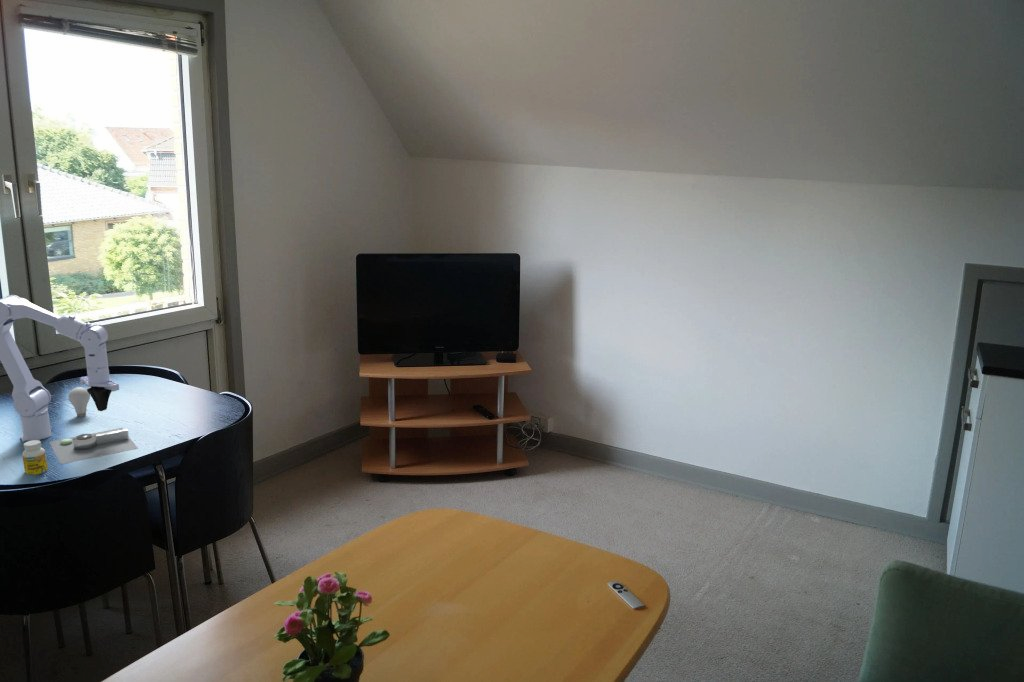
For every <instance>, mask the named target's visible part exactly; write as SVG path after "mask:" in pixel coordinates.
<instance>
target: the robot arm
mask: <svg viewBox="0 0 1024 682" xmlns="http://www.w3.org/2000/svg"><path fill="white" fill-rule="evenodd" d="M25 318H28V319H31V320H33V321H36V322H39V323H42V324H44V325H48V326H51V327H54V329H55V331H56V332H57V334H59V335H62V336H65V337H68V338H69V339H72V340H75V341H77V342H79V343H80V345H81V346H82V347H83V349H84V356H85V365H86V374H87V375H86V376H81V377H79V381H80V384H81V385H85V387H88V388H86V389H87V392H88V393H89V394H90V398H92V400H93V402H94V405H95V407H96V409H97V411H98V412H103V411H106V410H107V409H108V403H109V399H110V396H111V393H112V392H117V391H120V385H119V384H120V383H118V382H115V381H114V380H112V379H111V378H110V369H109V362H108V352H107V343H106V342H107V340H108V339H109V333H108V330H107V329H106V328H105V326H102V324H93V325H92V323H91V322H85V321H82V320H80V319H78V318H76V315H73V314H70V315H68V314H66V315H63V316H59V315H58V314H55V313H54V312H51V311H49V310H47V309H45V308H42V307H40V306H38V305H36V304H34V303H32V302H31V301H29V300H28V299H27V298H24V297H20V296H18V295H15V294H10V295H9V294H8V295H6V296H4V297H2V298H0V362H1V364H2V366H3V369H4V371H5V372H6V374H7V376H8V378H9V380H10V382H11V385H13V389H12V393H11V397H12V400H13V408H14V410H15V412H16V413H18V415H19V417H20V422H21V428H22V435H20V436H19V437H20V439H21V442H22V443H23V442H24V443H25V441H26V442H27V441H33V440H39V441H40V440H43V439H44V440H45V439H47V438H50V436H52V431H51V430H52V429H51V423H50V422H51V421H50V415H49V414H50V413H49V406H48V405H49V404H50V402H51V400H52V397H51V396H52V395H51V392H50V391H49V390H48V389H46V388H45V387H44V386H43V384H42V382H41V381H39V380H37V379H35V378H34V376H33V374H32V372H31V371H30V368H29V366H28V365H27V362H26V361H25V359H24V357H23V355H22V353H21V350H20V349H19V347H18V345H17V342H16V341H15V339H14V338H13V335H12V333H11V331H10V329H11V328H12V326H13V324H14V323H15V321H16V320H18V319H25Z"/></svg>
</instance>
